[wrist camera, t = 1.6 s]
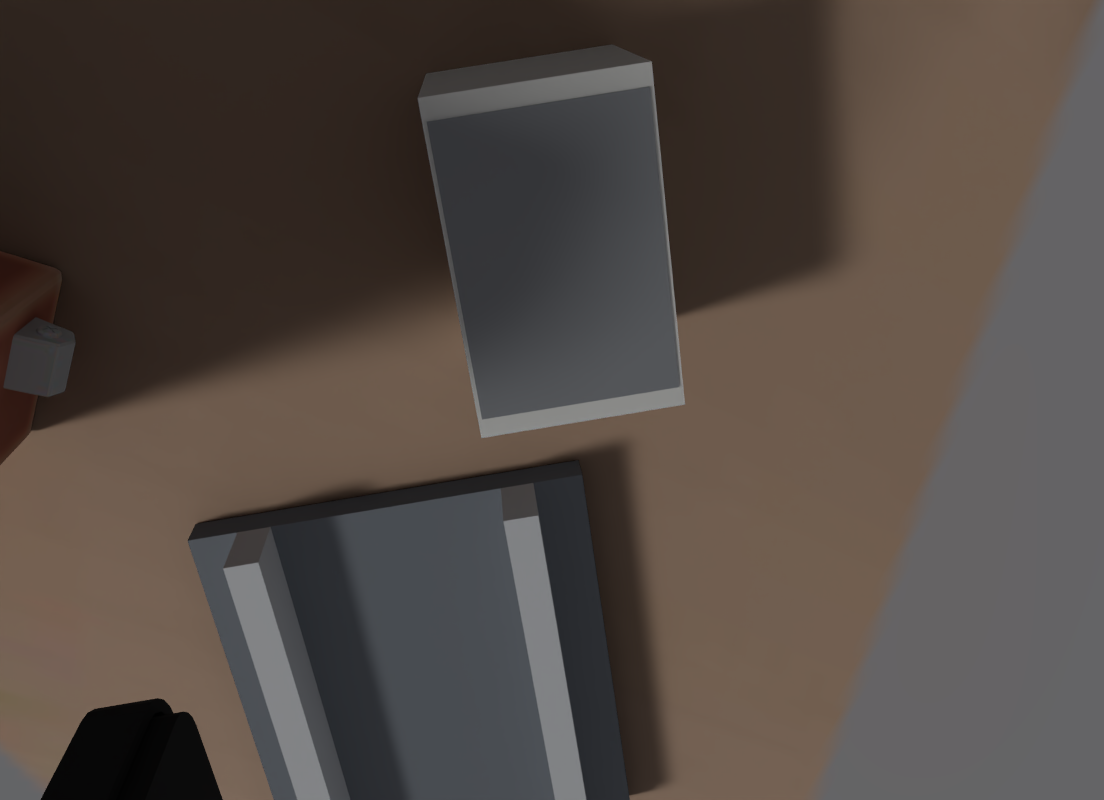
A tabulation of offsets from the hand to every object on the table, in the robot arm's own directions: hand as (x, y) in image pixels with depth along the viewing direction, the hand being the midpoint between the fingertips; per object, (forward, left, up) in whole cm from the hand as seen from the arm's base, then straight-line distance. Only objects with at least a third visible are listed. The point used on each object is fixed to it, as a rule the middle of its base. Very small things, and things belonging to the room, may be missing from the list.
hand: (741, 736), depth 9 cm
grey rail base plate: (+15, -6, -21) cm, 26 cm away
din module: (0, 0, -21) cm, 21 cm away
